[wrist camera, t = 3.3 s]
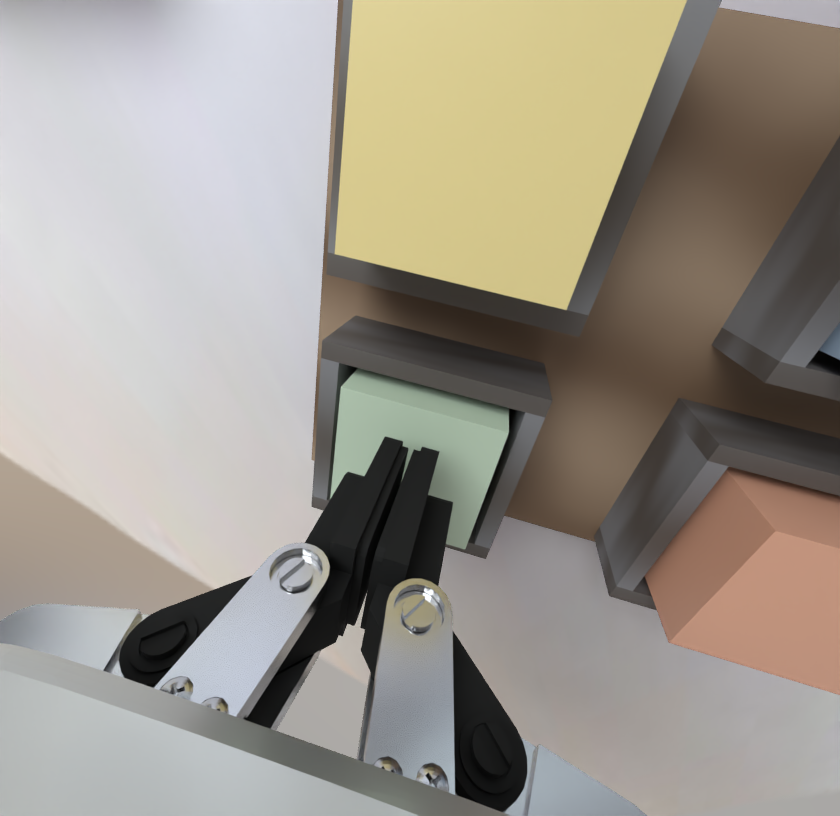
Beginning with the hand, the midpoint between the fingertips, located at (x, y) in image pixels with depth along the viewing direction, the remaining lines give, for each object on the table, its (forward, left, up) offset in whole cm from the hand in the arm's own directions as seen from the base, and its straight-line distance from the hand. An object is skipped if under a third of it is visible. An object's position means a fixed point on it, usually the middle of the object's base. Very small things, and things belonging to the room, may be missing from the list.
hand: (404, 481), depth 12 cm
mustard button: (-9, 0, -3) cm, 9 cm away
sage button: (+1, 0, -4) cm, 4 cm away
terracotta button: (+1, +12, -3) cm, 12 cm away
